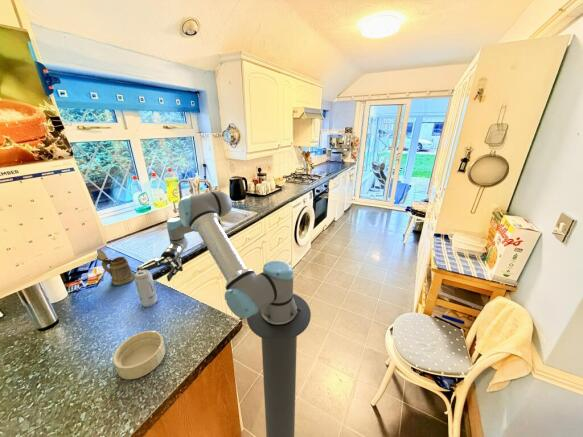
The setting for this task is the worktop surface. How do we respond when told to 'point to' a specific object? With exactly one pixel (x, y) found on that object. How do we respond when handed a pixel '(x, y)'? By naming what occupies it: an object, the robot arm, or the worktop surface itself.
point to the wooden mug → (116, 268)
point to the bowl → (139, 354)
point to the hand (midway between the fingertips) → (151, 279)
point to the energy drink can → (145, 288)
